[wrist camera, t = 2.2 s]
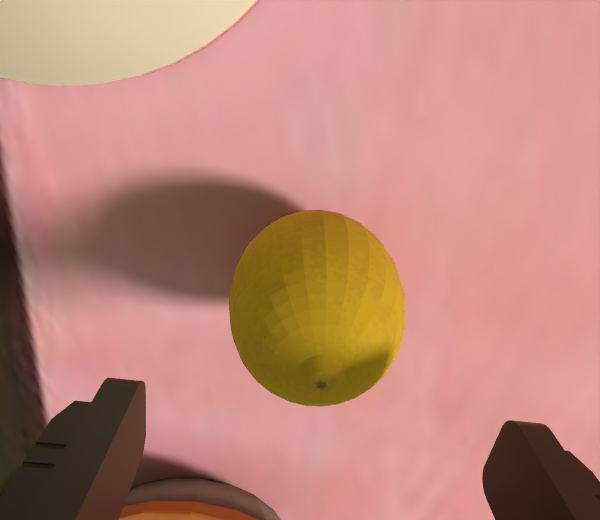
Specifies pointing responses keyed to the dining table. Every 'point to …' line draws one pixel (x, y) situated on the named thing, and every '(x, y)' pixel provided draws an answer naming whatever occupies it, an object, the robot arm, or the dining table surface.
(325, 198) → the dining table surface
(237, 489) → the pie
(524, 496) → the robot arm
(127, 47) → the saucer
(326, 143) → the dining table surface
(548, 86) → the dining table surface
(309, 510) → the dining table surface
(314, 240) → the lemon
